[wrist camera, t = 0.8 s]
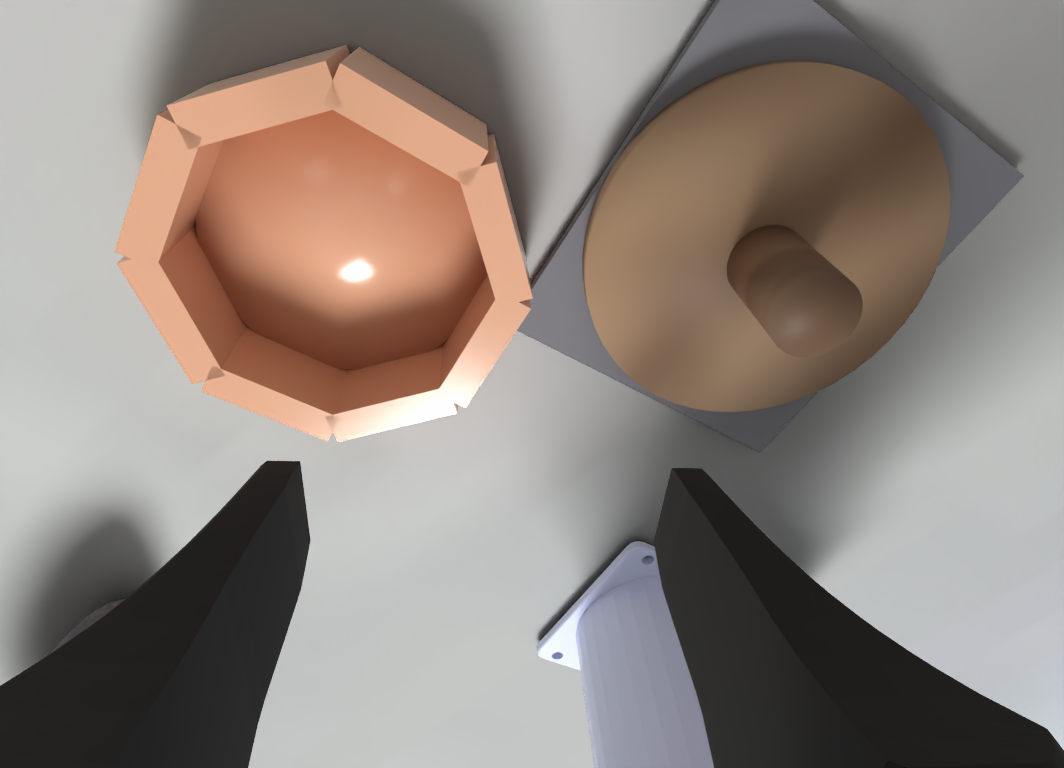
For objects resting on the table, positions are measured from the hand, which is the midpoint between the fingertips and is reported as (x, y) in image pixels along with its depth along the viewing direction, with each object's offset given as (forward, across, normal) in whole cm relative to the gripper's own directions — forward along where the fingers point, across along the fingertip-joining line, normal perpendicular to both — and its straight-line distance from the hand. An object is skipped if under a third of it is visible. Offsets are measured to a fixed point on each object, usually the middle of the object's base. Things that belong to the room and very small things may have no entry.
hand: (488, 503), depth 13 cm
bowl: (+10, +4, -2) cm, 11 cm away
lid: (+10, -8, -2) cm, 13 cm away
